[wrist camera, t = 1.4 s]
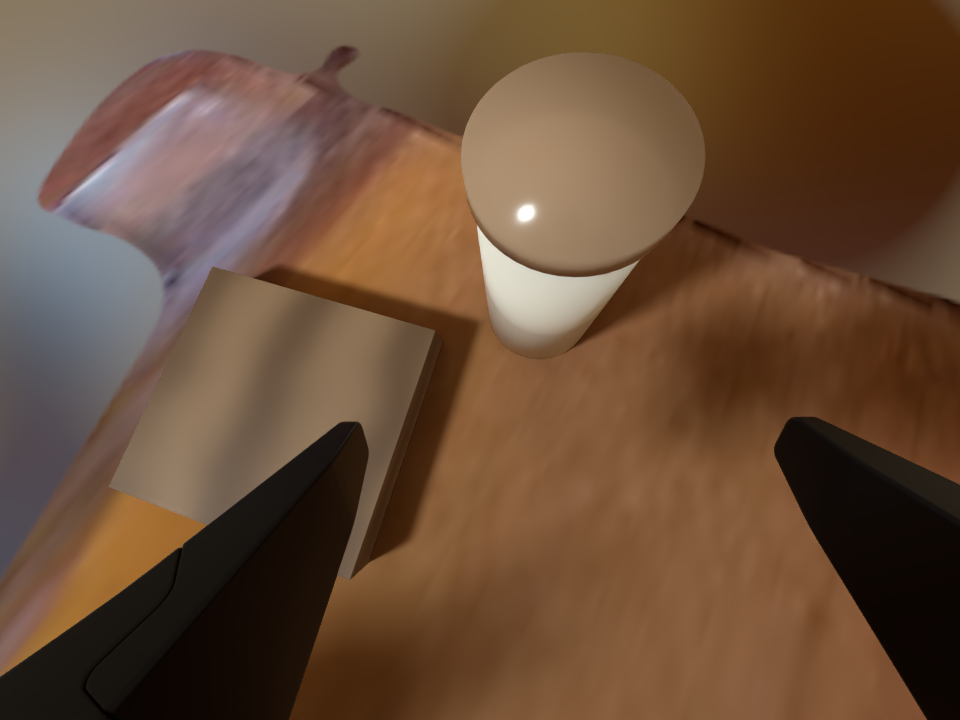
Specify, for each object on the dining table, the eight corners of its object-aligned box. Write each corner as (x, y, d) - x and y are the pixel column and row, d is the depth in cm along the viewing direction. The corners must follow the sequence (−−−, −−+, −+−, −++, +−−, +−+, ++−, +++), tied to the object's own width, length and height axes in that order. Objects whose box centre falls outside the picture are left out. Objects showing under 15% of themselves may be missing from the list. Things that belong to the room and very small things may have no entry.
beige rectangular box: (443, 341, 23) (435, 330, 20) (368, 562, 20) (349, 580, 18) (241, 283, 24) (212, 266, 22) (152, 481, 22) (108, 486, 20)
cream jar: (603, 276, 23) (725, 75, 10) (576, 375, 22) (677, 288, 9) (502, 251, 24) (499, 35, 11) (472, 345, 22) (429, 226, 10)
